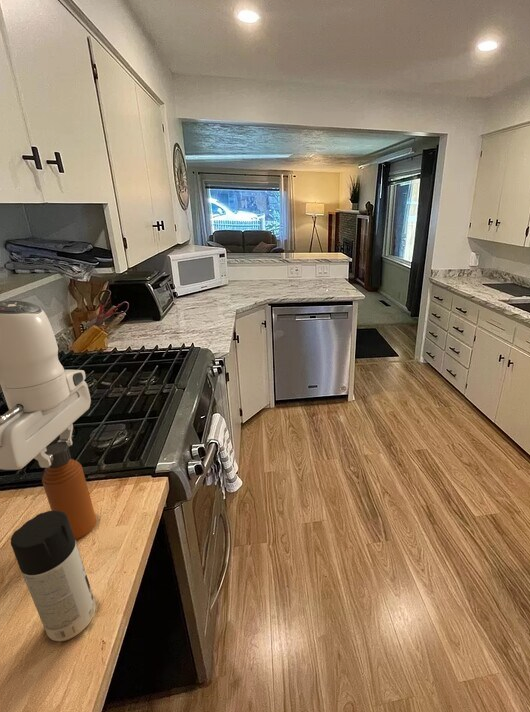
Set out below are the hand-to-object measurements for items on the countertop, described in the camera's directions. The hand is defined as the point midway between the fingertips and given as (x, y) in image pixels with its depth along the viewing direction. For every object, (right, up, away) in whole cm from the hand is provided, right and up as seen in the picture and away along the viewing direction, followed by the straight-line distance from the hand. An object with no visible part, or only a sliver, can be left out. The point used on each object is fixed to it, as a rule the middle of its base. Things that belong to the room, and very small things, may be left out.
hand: (57, 455), depth 68 cm
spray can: (+10, -23, -10) cm, 28 cm away
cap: (0, -1, 0) cm, 1 cm away
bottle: (0, -17, +6) cm, 18 cm away
